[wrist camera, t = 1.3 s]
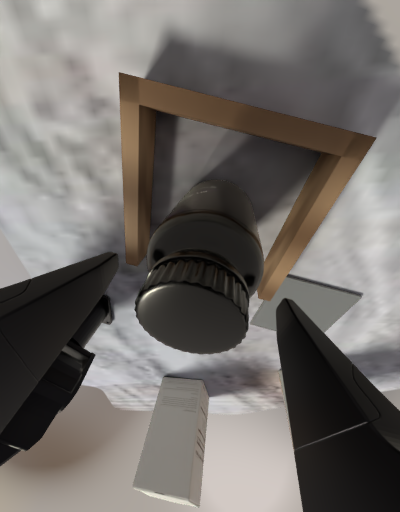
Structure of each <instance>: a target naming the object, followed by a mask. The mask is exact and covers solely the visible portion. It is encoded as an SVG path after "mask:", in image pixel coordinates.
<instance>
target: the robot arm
mask: <svg viewBox="0 0 400 512" xmlns="http://www.w3.org/2000/svg"><path fill="white" fill-rule="evenodd" d="M118 267H119V263H118V255H117V254H116V253H113V252H107V253H104V254H101V255H98V256H95V257H93V258H90V259H87V260H84V261H81V262H78V263H75V264H72V265H69V266H66V267H63V268H61V269H58V270H55V271H52V272H49V273H46V274H43V275H40V276H37V277H34V278H32V279H28V280H26V281H23V282H20V283H17V284H14V285H11V286H8V287H4V288H1V289H0V466H1V465H2V464H4V463H5V462H6V461H8V460H9V459H10V458H12V457H13V456H14V455H16V454H17V453H18V452H20V451H21V450H23V451H27V450H28V449H30V448H31V447H32V446H33V445H34V444H35V443H37V442H38V441H39V440H40V439H41V438H42V436H43V435H44V433H45V432H46V430H47V428H48V427H49V425H50V423H51V422H52V420H53V419H54V417H55V416H56V414H58V413H60V412H61V411H62V410H63V409H64V408H65V407H66V406H67V405H68V404H69V403H70V401H71V400H72V399H73V397H74V396H75V394H76V393H77V391H78V389H79V388H80V386H81V384H82V382H83V380H84V377H85V375H86V373H87V371H88V369H89V367H90V365H91V363H92V361H93V359H94V357H95V354H94V353H90V352H89V351H87V350H85V349H84V347H85V345H86V344H87V343H88V341H89V340H90V338H91V337H92V336H93V334H94V333H95V331H96V330H97V329H98V327H99V326H100V324H101V323H105V324H111V323H112V315H111V307H110V299H109V297H107V296H105V295H103V294H104V292H105V291H106V289H107V287H108V286H109V284H110V282H111V280H112V279H113V277H114V275H115V274H116V272H117V270H118ZM276 330H277V343H278V349H279V356H280V363H281V369H282V376H283V382H284V389H285V395H286V402H287V408H288V415H289V421H290V428H291V435H292V441H293V448H294V455H295V462H296V468H297V475H298V481H299V488H300V494H301V501H302V507H303V512H400V411H399V410H398V409H397V408H396V407H395V406H394V405H393V404H392V403H391V402H390V401H389V400H388V399H387V398H386V397H385V396H384V395H383V394H382V393H381V392H380V391H379V390H378V389H377V388H376V387H375V386H374V385H373V384H372V383H371V382H370V381H369V380H368V379H367V378H366V377H365V376H364V375H363V374H362V373H361V372H360V371H359V370H358V369H357V367H356V366H355V365H354V364H352V362H351V361H350V360H349V359H348V358H347V357H346V356H345V355H344V354H343V353H342V352H341V351H340V350H339V348H338V347H337V346H336V345H335V344H334V343H333V342H332V341H331V340H330V339H329V338H328V337H327V336H326V335H325V334H324V333H323V331H322V330H321V329H320V328H319V327H318V326H317V325H316V324H315V323H314V322H313V321H312V320H311V319H310V318H309V317H308V316H307V315H306V313H305V312H304V311H303V310H302V309H301V308H300V307H299V306H298V305H297V304H296V303H295V302H294V301H293V300H292V299H288V298H283V299H282V301H281V302H280V304H279V305H278V306H277V308H276Z"/></svg>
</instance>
